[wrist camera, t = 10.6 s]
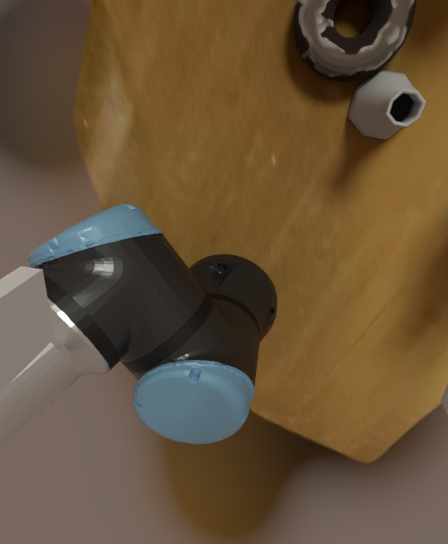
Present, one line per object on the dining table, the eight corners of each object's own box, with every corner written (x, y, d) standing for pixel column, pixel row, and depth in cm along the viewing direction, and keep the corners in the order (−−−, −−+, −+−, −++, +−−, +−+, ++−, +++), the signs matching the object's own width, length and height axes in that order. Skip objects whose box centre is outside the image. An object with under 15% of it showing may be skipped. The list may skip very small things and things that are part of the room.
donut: (357, -83, 35) (364, -102, 32) (434, 12, 38) (448, 3, 34) (271, 27, 40) (269, 20, 37) (343, 105, 42) (348, 106, 39)
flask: (431, 90, 40) (470, 88, 31) (387, 150, 44) (411, 164, 35) (375, 56, 40) (398, 45, 31) (335, 119, 43) (346, 126, 34)
